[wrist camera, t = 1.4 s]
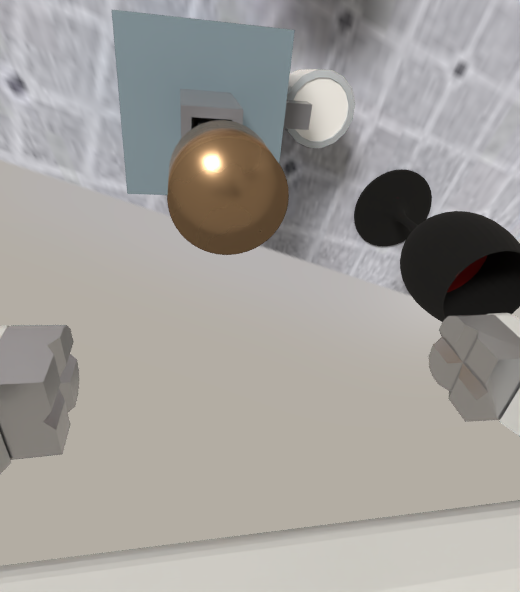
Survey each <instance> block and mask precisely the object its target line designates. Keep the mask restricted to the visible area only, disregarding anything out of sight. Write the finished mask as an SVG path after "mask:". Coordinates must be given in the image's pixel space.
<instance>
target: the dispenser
mask: <svg viewBox="0 0 520 592" xmlns="http://www.w3.org/2000/svg"><path fill="white" fill-rule="evenodd" d="M112 20H113V32H114V43H115V55H116V67H117V78H118V90H119V102H120V113H121V125H122V137H123V148H124V160H125V172H126V183H127V194H154V195H168V177H169V164H170V159H171V156H172V153H173V151H174V149H175V147H176V145H177V144H178V142H179V141H180V139H181V138H182V137H183V136H184V135H185V134H186V133H187V132H189V131H190V130H191V129H193V128H194V127H196V126H198V123H206V122H209V121H216V120H226V121H233V122H236V123H239V124H242V125H244V126H246V127H248V128H249V129H251V130H252V131H254V132H255V133H256V134H257V135H258V136H259V137H260V138H261V139H262V140H263V142H264V143H265V145H266V146H267V147H268V149H269V150H270V152H271V153H272V154H273V156H274V157H275V159H276V160H277V161H278V163H279V162H280V153H281V145H282V136H283V128H286V129H301V130H309V124H310V117H311V110H312V104H311V103H309V102H307V101H294V100H287V93H288V84H289V75H290V67H291V58H292V50H293V41H294V32H295V30H290V29H281V28H272V27H263V26H254V25H245V24H236V23H227V22H218V21H209V20H200V19H191V18H182V17H173V16H164V15H155V14H146V13H137V12H128V11H119V10H112Z"/></svg>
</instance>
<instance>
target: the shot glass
mask: <svg viewBox="0 0 520 592" xmlns="http://www.w3.org/2000/svg"><path fill="white" fill-rule="evenodd" d="M287 100H294V101H307V102H309V103H311V104H312V110H311V117H310V124H309V130H301V129H287V131H288V132H289V133H290V135H291V136H292V137H293V138H294V139H295V141H296V142H297V143H299V144H301V145H304V146H306V147H308V148H323V147H326V146H328V145H330V144H333V143H335V142H336V141H337V140H338V139H339V138H340V137H341V136H342V135H343V134H345V133H346V131H347V129H348V127H349V125H350V123H351V121H352V119H353V114H354V108H355V100H354V96H353V91H352V88H351V86H350V85H349V83H348V82H347V81H346V79H345V78H344V77H343V76H342V75H340V74H338V73H336V72H334V71H333V70H321V69H312V70H297V71H295V72H293V73H290V75H289V84H288V93H287Z"/></svg>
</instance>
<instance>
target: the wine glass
mask: <svg viewBox="0 0 520 592" xmlns="http://www.w3.org/2000/svg"><path fill="white" fill-rule="evenodd" d="M431 199H432V196H431V190H430V187H429V185H428V183H427V182H426V180H425V179H424V178H423V177H422V176H420V175H419V174H417V173H415V172H413V171H409V170H394V171H390V172H387V173H385V174H382V175H381V176H379V177H377V178H376V179H375V180H373V181H372V182H371V183H370V184H369V185H368V186H367V187H366V188H365V189H364V191H363V192H362V194H361V195H360V197H359V199H358V201H357V204H356V207H355V213H354V221H355V226H356V229H357V231H358V233H359V234H360V235H361V237H362V238H363V239H364V240H366V241H367V242H369V243H370V244H373V245H377V246H391V245H395V244H398V243H401V242H403V241H405V240H406V241H405V243H404V246H403V249H402V252H401V258H400V269H401V274H402V278H403V281H404V283H405V286H406V288H407V290H408V291H409V293H410V294H411V296H412V297H413V298H414V300H415V301H416V302H417V303H418V304H419V305H420V306H421V307H422V308H423V309H425V310H426V311H427V312H428V313H429V314H431V315H432V316H434V317H435V318H437V319H438V320H440V321H442V322H443V321H444V320H445V319H446V318H447V317H448V316H459V315H487V314H495V313H510V314H512V313H513V312H514V311H515V310H516V309H518V308H519V306H520V243H519V242H518V241H517V240H516V239H515V238H514V236H512V235H511V234H510V233H509V232H508V231H507V230H506V229H504V228H503V227H502V226H501V225H499V224H498V223H496V222H495V221H493V220H491V219H489V218H486V217H484V216H482V215H479V214H475V213H470V212H462V211H454V212H445V213H441V214H438V215H435V216H433V217H430V218H428V219H427V220H426V218H427V216H428V214H429V211H430V207H431Z"/></svg>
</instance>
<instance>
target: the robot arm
mask: <svg viewBox="0 0 520 592" xmlns="http://www.w3.org/2000/svg"><path fill="white" fill-rule="evenodd" d="M439 331H440V334H441V336H442V338H440V339H439V340H438V341H437V342H436V343H435V344H433V346H432V349H431V352H430V355H429V368H430V371H431V373H432V376H433V377H434V379H435V380H436V382H437V383H438V384H439V385H441V386H442V387H444V388H445V389H447V390H449V400H450V401H451V403H452V404H453V405H454V407H455V408H456V409H457V411H458V412H459V414H460V415H461V416H462V418H463V419H464V420H465V421H486V420H500V421H499V422H500V423H502V424H503V425H505V426H506V427H507V428H509V429H510V430H511V431H513V432H514V433H516V434H517V435H518V436H520V319H519V318H518V317H516V316H515V315H512V314H510V313H495V314H487V315H459V316H448V317H447V318H446V319H445V320H444V321H443V322H442V325H441V327H440V329H439ZM72 345H73V338H72V334H71V330H70V328H69V327H68V326H67V325H15V326H14V325H13V326H0V474H1V473H2V472H3V471H4V470H5V469H6V468H7V467H8V465H9V464H10V463H11V460H13V459H23V458H33V457H42V456H51V455H60V454H63V450H64V446H65V442H66V439H67V435H68V431H69V428H70V421H69V417H68V412H69V411H70V410H71V409H72V408H74V407H75V405H76V401H77V396H78V389H79V369H78V363H77V359H76V358H74V357H73V356H72V355H71V354H70V352H71V348H72ZM0 592H520V500H518V501H509V502H501V503H494V504H486V505H478V506H471V507H462V508H455V509H446V510H438V511H431V512H423V513H415V514H407V515H399V516H392V517H383V518H375V519H368V520H360V521H352V522H344V523H336V524H328V525H320V526H312V527H304V528H297V529H288V530H281V531H273V532H265V533H257V534H249V535H241V536H234V537H225V538H217V539H209V540H202V541H193V542H186V543H178V544H170V545H162V546H154V547H146V548H138V549H130V550H122V551H115V552H107V553H99V554H91V555H83V556H75V557H68V558H59V559H51V560H43V561H35V562H27V563H20V564H11V565H3V566H0Z"/></svg>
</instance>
